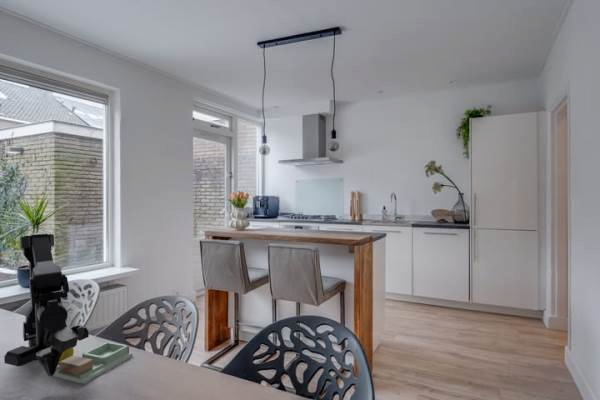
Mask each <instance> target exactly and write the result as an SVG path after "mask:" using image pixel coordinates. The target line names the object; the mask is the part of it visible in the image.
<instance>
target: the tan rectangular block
mask: <svg viewBox="0 0 600 400" xmlns="http://www.w3.org/2000/svg"><path fill="white" fill-rule="evenodd" d="M59 369H60V372H63V373H67V374H71V375H75V376H79V377H80V375H82V374H84V373H86V372H88V371H89V370H91V369H93V360H92V359H88V358H83V357H82V356H78V355H74V354H73V356H71V357H69V358H66V359H64V360H62V361H60V365H59Z"/></svg>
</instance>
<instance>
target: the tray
mask: <svg viewBox="0 0 600 400" xmlns="http://www.w3.org/2000/svg"><path fill="white" fill-rule="evenodd" d="M133 356H134V355H133V352H130V346H129V344H123V343H118V342H112V341H107V342H105V343H102V344H100V345H97V346H96V347H93V348H91V349H89V350H87V351H85V352H83V353H82V355H81V357H83V358H88V359H92V360H93V369H91V370H89V371H88V372H86V373H84V374H82V375H80V377H79V376H75V375H71V374H67V373H63V372H60V368H58V369H56V371H55V373H54V375H53V376H52V377H54V378H59V379H62V380H63V379H64V380H68V381H71V382H74V383H79V384H82V385H84V384H85V383H87V382H89V381H91V380H93V379H94V378H97V377H99V376H100V375H102V374H104V373H105V372H107V371H109V370H111V369H113V368H114V367H116V366H117V365H120V364H121V363H123V362H125V361H126V360H128V359H130V358H132V357H133Z"/></svg>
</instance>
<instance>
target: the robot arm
mask: <svg viewBox="0 0 600 400" xmlns="http://www.w3.org/2000/svg"><path fill="white" fill-rule="evenodd" d="M52 247H55V235H54V234H53V233H50V232H47V231H45V232H32V233H30V234H24V235H23V236H21V237H20V238H19V248H20V251H22V254H23V256H24V258H26V260H27V261H28V262H29V278H28V285H29V286H28V287H29V288H28V289H29V294H30V295H29V296H30V307H29V309H28V310H27V312H25V315H24V316H25V321H23V322H22V338H23V342H26V341H28V346H25V345H21V346H18V347H15V348H13V349H11V350H8V351H6V353H5V354H4V364H6V365H11V366H15V367H22V366H25V365H28V364H29V363H31V362H34V361H35V360H36V361H38V363H39V364H40V365H41V367H42V368H43V370H44V371H45V372H46V375H48V376H49V377H54V376H53V375H54V373H55V372H56V371H57V367H58V366H59V365H58V362H59V359H60V357H61V355H62V353H63V352H64V351H66V350H67V349H69V348H72V347H73V348H75V347H77V344H78V341H80V342H81V341H82V340H84V339H88V338H89V337H90V335H89V334H90V333H89V331H90V330H89V329H88V327H86V326H83V325H82V324H80V323H79V324H77V325H73V326H71V327H68V326H67V325H68V324H67V319H68V311H67V309H66V307H65V306H64V305H63V303H62V298H67V297H68V293H70V287H69V280H68V277H67V276H66V274H65V273H63V272H62V269H61V266H60V265H58V264H56V262H54V258H53V254H52Z"/></svg>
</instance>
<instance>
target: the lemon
mask: <svg viewBox="0 0 600 400" xmlns="http://www.w3.org/2000/svg"><path fill="white" fill-rule="evenodd" d="M74 351H75V349H74V347H72V348H69V349H67V350H66V351H64V352H63V353H62V355H61V357H60V359H59V362H58V365H57V366H60V361H62V360H64V359H66V358H69V357H71V356H73V355H74V353H75V352H74Z"/></svg>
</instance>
